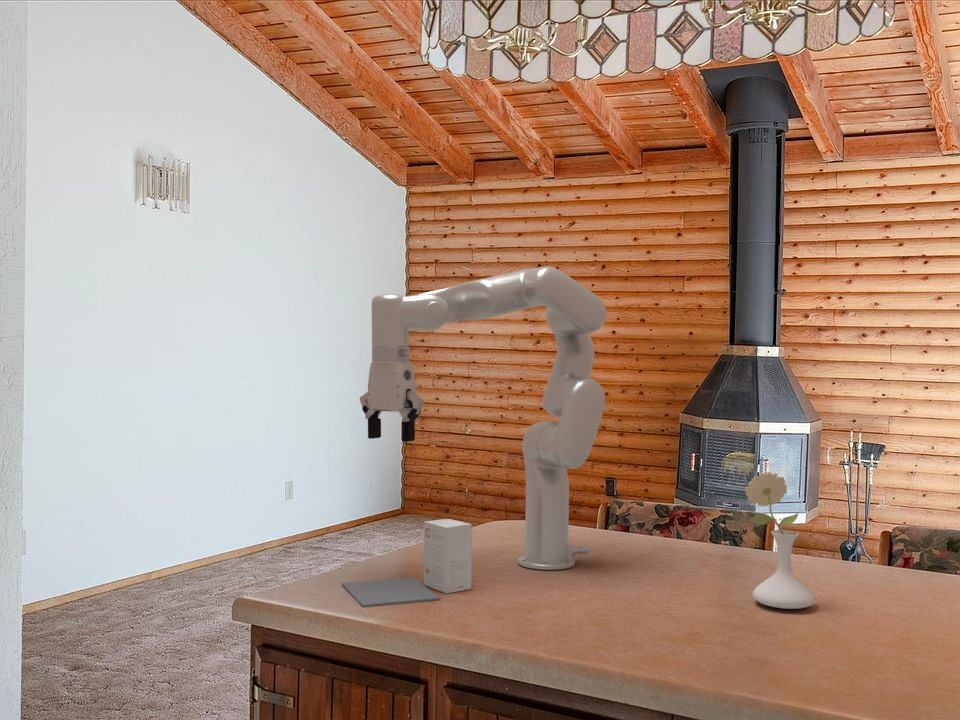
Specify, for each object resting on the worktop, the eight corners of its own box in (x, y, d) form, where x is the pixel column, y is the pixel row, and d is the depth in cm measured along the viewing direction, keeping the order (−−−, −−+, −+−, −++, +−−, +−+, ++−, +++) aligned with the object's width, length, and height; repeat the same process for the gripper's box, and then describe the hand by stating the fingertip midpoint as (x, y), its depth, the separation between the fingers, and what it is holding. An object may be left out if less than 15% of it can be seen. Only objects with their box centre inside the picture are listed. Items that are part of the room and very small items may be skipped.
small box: (472, 589, 188) (472, 523, 188) (446, 594, 184) (446, 527, 184) (448, 581, 194) (448, 517, 194) (422, 585, 190) (423, 521, 190)
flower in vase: (815, 601, 181) (817, 470, 181) (816, 616, 171) (818, 478, 170) (745, 594, 186) (746, 467, 185) (741, 609, 175) (743, 474, 175)
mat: (413, 579, 195) (413, 577, 195) (440, 599, 180) (440, 597, 179) (341, 585, 190) (341, 583, 190) (362, 607, 174) (362, 604, 174)
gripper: (434, 355, 190) (434, 440, 190) (374, 355, 201) (375, 435, 201) (408, 356, 184) (408, 444, 184) (347, 355, 195) (348, 438, 196)
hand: (391, 439), depth 193 cm, fingers open, 9 cm apart
